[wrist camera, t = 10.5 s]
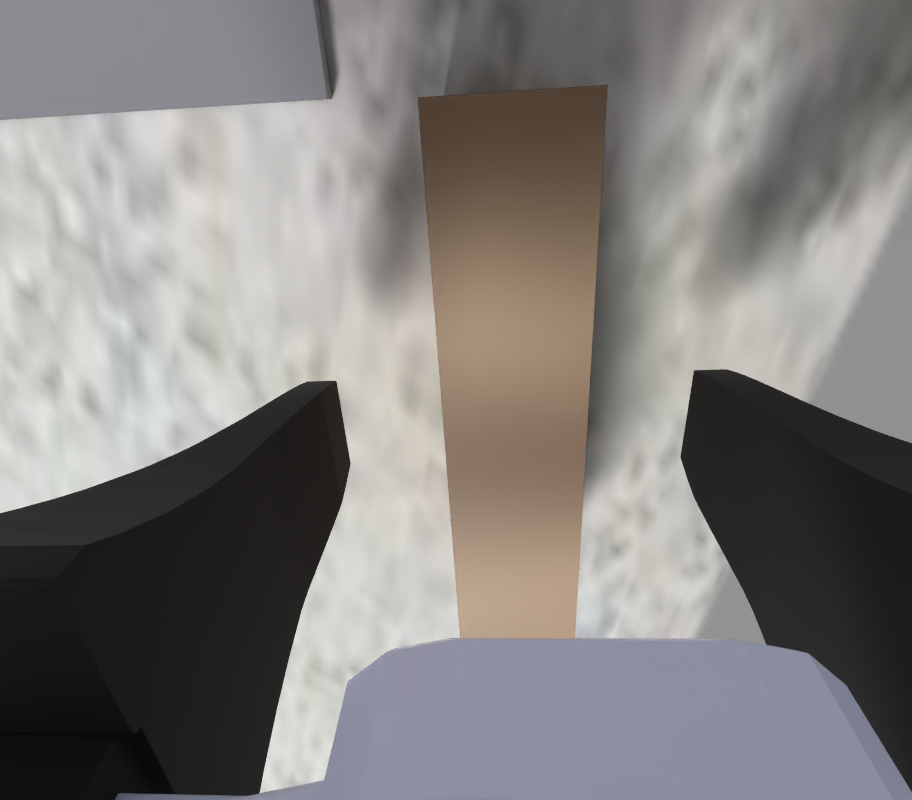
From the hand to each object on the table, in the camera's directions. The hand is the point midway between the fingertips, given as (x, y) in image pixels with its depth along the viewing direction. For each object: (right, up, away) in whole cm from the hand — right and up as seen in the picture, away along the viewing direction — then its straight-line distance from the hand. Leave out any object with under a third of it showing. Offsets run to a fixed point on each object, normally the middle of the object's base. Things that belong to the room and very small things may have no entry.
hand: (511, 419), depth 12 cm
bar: (0, +1, +3) cm, 3 cm away
